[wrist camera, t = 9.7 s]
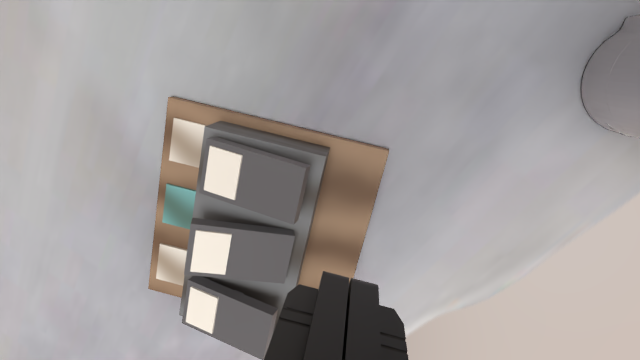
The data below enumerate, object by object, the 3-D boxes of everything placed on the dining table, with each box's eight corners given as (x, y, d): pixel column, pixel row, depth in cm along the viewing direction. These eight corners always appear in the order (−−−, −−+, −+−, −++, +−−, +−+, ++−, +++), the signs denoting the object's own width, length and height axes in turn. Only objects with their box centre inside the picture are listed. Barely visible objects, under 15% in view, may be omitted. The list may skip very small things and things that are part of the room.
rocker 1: (219, 135, 35) (205, 138, 33) (313, 163, 33) (305, 168, 31) (211, 187, 37) (197, 193, 35) (301, 217, 35) (292, 225, 33)
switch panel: (173, 96, 39) (146, 100, 35) (388, 149, 38) (391, 161, 34) (152, 284, 46) (128, 309, 41) (336, 333, 45) (332, 365, 40)
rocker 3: (200, 270, 39) (186, 280, 37) (281, 304, 37) (271, 316, 35) (194, 312, 41) (180, 324, 39) (272, 347, 39) (261, 361, 37)
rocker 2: (193, 213, 35) (190, 224, 33) (292, 226, 37) (295, 237, 35) (187, 262, 37) (183, 275, 35) (282, 271, 39) (284, 284, 37)
